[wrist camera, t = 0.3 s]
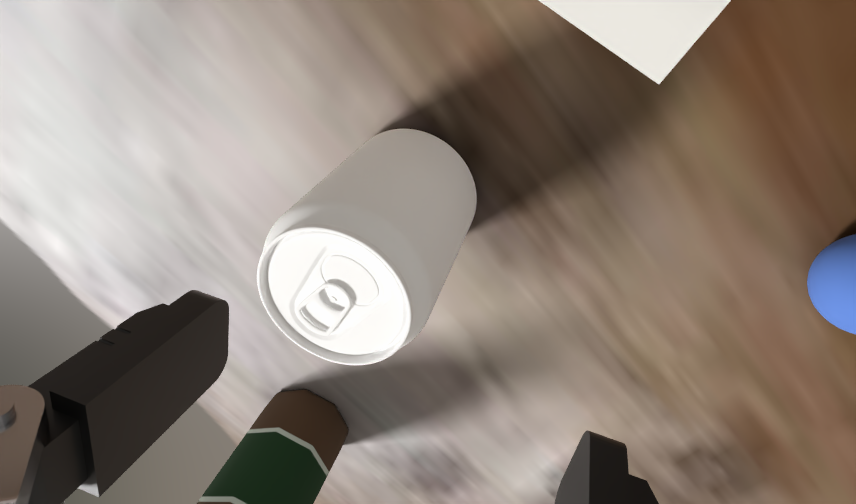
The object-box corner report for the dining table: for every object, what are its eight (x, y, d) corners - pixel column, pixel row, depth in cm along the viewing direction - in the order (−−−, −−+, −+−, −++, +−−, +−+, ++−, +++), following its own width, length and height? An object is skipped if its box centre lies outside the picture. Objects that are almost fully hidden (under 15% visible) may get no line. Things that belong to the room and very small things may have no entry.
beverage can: (507, 190, 31) (462, 310, 21) (424, 269, 35) (355, 399, 25) (401, 95, 30) (301, 175, 20) (329, 189, 34) (218, 293, 24)
